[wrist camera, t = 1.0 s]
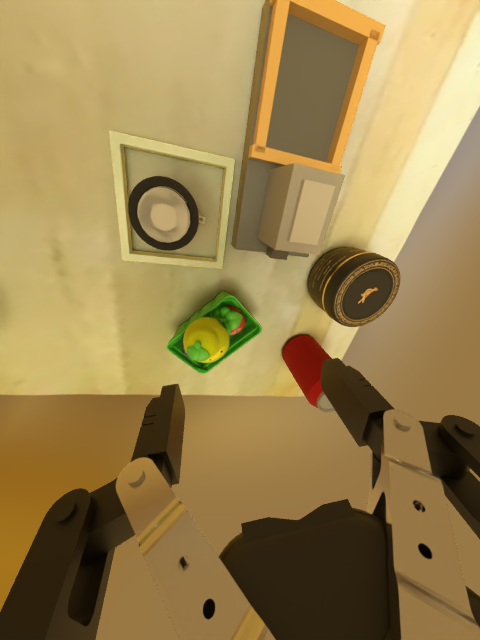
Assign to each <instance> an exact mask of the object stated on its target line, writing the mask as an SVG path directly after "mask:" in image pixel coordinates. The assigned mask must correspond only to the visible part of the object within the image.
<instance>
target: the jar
mask: <svg viewBox="0 0 480 640" xmlns="http://www.w3.org/2000/svg"><path fill="white" fill-rule="evenodd" d="M399 285H400V272H399V269H398V267H397V266H396V264H395V263H394V262H392V261H391V260H389V259H388V258H385V257H383V256H381V255H379V254H376V253H371V252H366V251H363V250H360V249H357V248H338V249H334V250H332V251H330V252H328V253H326V254H325V255H324V256H322V257H321V258H320V259H319V260H318V261H317V263H316V264H315V265H314V267H313V269H312V271H311V273H310V276H309V281H308V289H309V293H310V295H311V297H312V299H313V301H314V302H315V303H316V304H317V305H318V306H319V307H320V308H321V309H322V310H324V311H325V312H326V313H327V314H328V316H330V317H331V318H332V319H334V320H335V321H336V322H338V323H340V324H341V325H344V326H348V327H357V326H362V325H365V324H367V323H369V322H371V321H373V320H375V319H376V318H378V317H379V316H380V315H381V314H383V313H384V312H385V311H386V310H387V308H388V307H389V306H390V305H391V303H392V302H393V300H394V299H395V296H396V295H397V292H398V289H399Z"/></svg>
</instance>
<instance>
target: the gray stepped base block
mask: <svg viewBox="0 0 480 640" xmlns="http://www.w3.org/2000/svg"><path fill="white" fill-rule="evenodd" d="M385 26H386V25H384V24H382V23H380V22H378V21H376V20H374V19H372V18H370V17H368V16H366V15H364V14H362V13H360V12H358V11H356V10H354V9H351V8H349V7H347V6H345V5H343V4H341V3H339V2H337V1H335V0H266V1H265V4H264V6H263V8H262V16H261V24H260V31H259V39H258V47H257V54H256V62H255V70H254V77H253V85H252V93H251V100H250V108H249V116H248V123H247V131H246V139H245V146H244V154H243V162H242V169H241V177H240V185H239V192H238V200H237V208H236V215H235V223H234V230H233V238H232V246H233V247H234V248H235V249H240V250H249V251H258V252H266V255H268V256H269V257H270V258H275V259H284V260H287V256H288V255H293V256H301V257H308V256H309V254H315V255H319V254H320V251H321V248H322V245H323V242H324V239H325V236H326V232H327V229H328V226H329V223H330V220H331V217H332V214H333V211H334V208H335V205H336V202H337V198H338V195H339V192H340V189H341V186H342V183H343V180H344V177H345V175H341V174H339V173H340V170H341V167H342V166H340V163H341V160H342V157H343V153H344V150H345V147H346V144H347V140H348V137H349V134H350V131H351V127H352V124H353V121H354V118H355V114H356V111H357V108H358V105H359V101H360V98H361V95H362V92H363V88H364V85H365V82H366V79H367V75H368V72H369V69H370V66H371V62H372V59H373V56H374V53H375V49H376V46H377V45H378V44H379V43H380V42H381V38H382V35H383V32H384V29H385Z"/></svg>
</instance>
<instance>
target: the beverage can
mask: <svg viewBox="0 0 480 640" xmlns="http://www.w3.org/2000/svg"><path fill="white" fill-rule="evenodd" d="M282 356H283V359H284V361H285V363H286V365H287V366H288V368H289V370H290V371H291V373H292V375H293V377H294V378H295V380H296V382H297V383H298V385H299V387H300V388H301V390H302V392H303V393H304V395H305V396H306V398H307V400H308V401H309V403H310V404H312V405H313V406H315V407H317V408H319V410H320V411H322V412H333V411H335V409H334V407H333V406H332V404H331V403H330V401H329V400H328V398H327V397H326V395H325V394H324V392H323V390H322V388H321V383H320V380H321V372H322V364H323V361H324V360H329V359H332V358H331V357H330V356H329V355H328V354H327V353H326V352H325V351H324V349H323V348H322V347H321V346H320V345H319V344H318V343H317V342H316V341H315V340H314V339H313V338H312V337H310V336H299V337H296V338H294V339H292V340H291V341H290V342H288V343H287V345H286V346H285V348H284V350H283V353H282Z"/></svg>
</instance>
